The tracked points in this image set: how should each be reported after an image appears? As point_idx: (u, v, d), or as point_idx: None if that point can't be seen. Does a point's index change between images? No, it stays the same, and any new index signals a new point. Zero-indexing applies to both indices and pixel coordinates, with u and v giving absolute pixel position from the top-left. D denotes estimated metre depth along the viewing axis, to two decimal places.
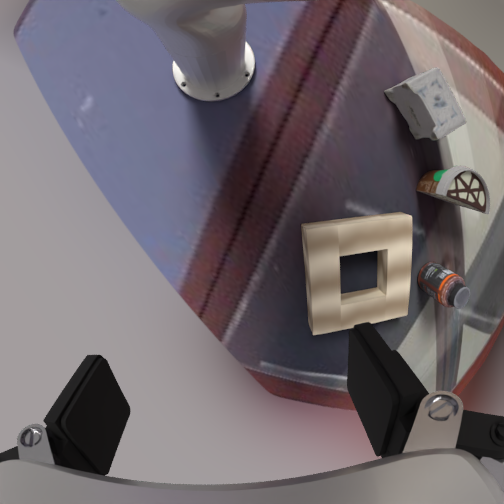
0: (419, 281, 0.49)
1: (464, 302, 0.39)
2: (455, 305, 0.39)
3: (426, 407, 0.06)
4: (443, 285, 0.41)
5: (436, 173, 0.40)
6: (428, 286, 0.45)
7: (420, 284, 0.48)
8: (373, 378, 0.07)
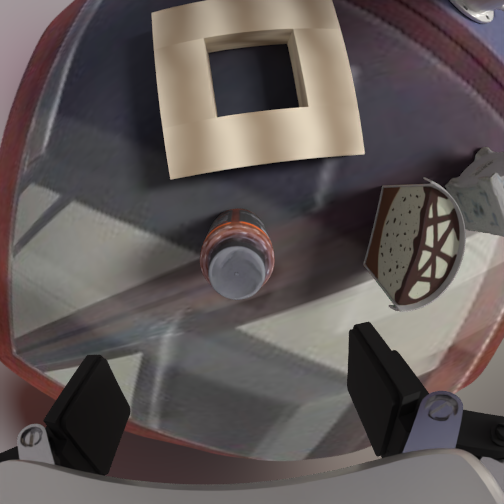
0: (230, 210, 0.29)
1: (225, 284, 0.20)
2: (218, 255, 0.20)
3: (426, 407, 0.06)
4: (254, 227, 0.22)
5: None
6: (231, 215, 0.26)
7: (225, 212, 0.29)
8: (373, 378, 0.07)
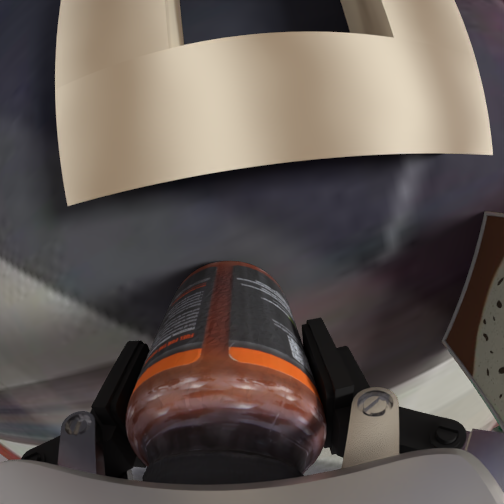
0: (212, 266, 0.13)
1: None
2: None
3: (361, 402, 0.06)
4: (275, 375, 0.06)
5: None
6: (210, 295, 0.10)
7: (201, 272, 0.13)
8: (316, 371, 0.08)
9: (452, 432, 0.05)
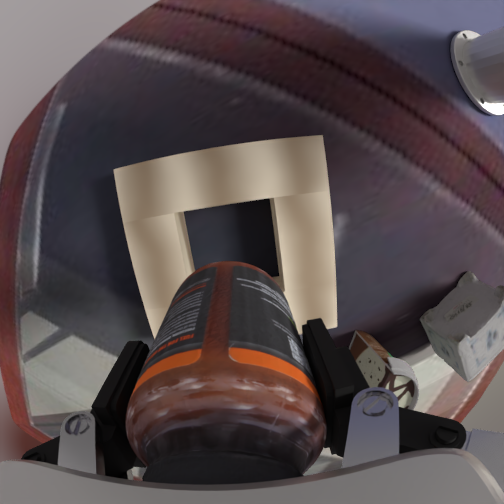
0: (212, 266, 0.13)
1: None
2: None
3: (361, 402, 0.06)
4: (275, 376, 0.06)
5: None
6: (210, 296, 0.10)
7: (201, 272, 0.13)
8: (316, 371, 0.08)
9: (452, 432, 0.05)
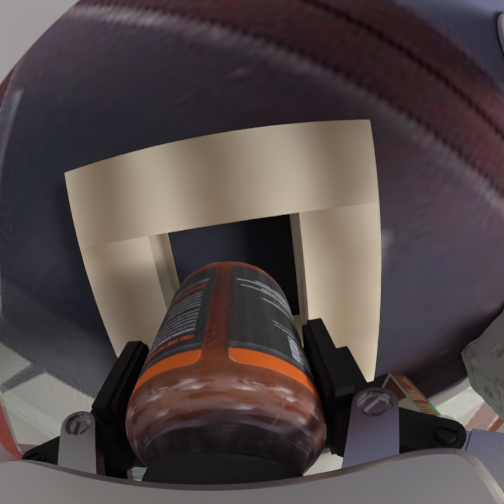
0: (212, 266, 0.13)
1: None
2: None
3: (361, 402, 0.06)
4: (275, 376, 0.06)
5: None
6: (210, 296, 0.10)
7: (201, 272, 0.13)
8: (316, 371, 0.08)
9: (452, 432, 0.05)
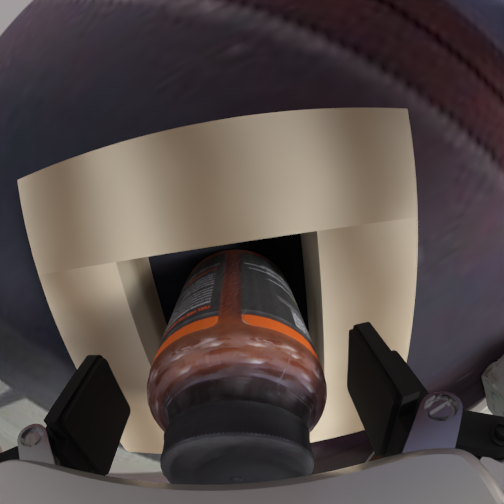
0: (221, 254, 0.15)
1: None
2: (182, 450, 0.05)
3: (426, 407, 0.06)
4: (282, 337, 0.08)
5: None
6: (221, 276, 0.12)
7: (211, 259, 0.14)
8: (373, 378, 0.07)
9: None
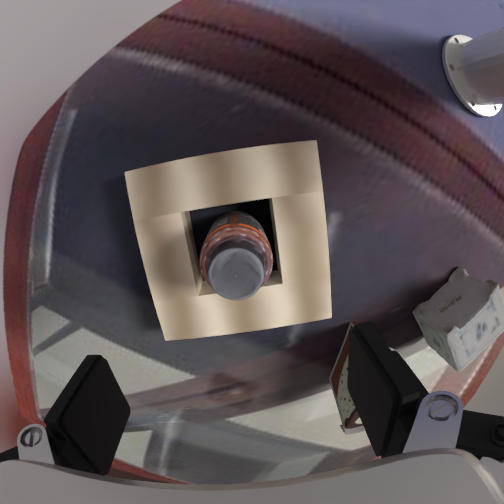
0: (229, 212, 0.30)
1: (224, 285, 0.21)
2: (218, 257, 0.20)
3: (426, 407, 0.06)
4: (253, 229, 0.23)
5: None
6: (230, 217, 0.26)
7: (224, 214, 0.29)
8: (373, 378, 0.07)
9: None
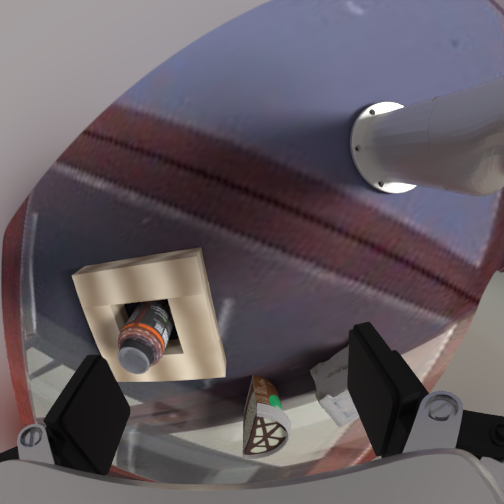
0: None
1: (127, 366, 0.30)
2: (121, 351, 0.29)
3: (426, 407, 0.06)
4: (146, 329, 0.32)
5: (276, 397, 0.41)
6: (140, 311, 0.35)
7: (142, 302, 0.38)
8: (373, 378, 0.07)
9: None
